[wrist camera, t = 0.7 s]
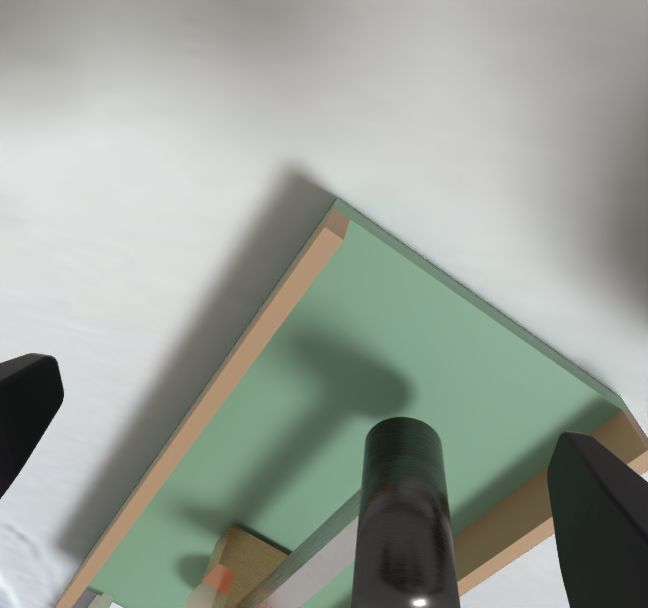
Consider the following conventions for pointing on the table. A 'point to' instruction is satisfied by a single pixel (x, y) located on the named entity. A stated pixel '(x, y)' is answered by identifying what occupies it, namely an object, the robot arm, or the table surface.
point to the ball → (201, 597)
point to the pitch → (356, 422)
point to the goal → (101, 601)
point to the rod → (359, 537)
